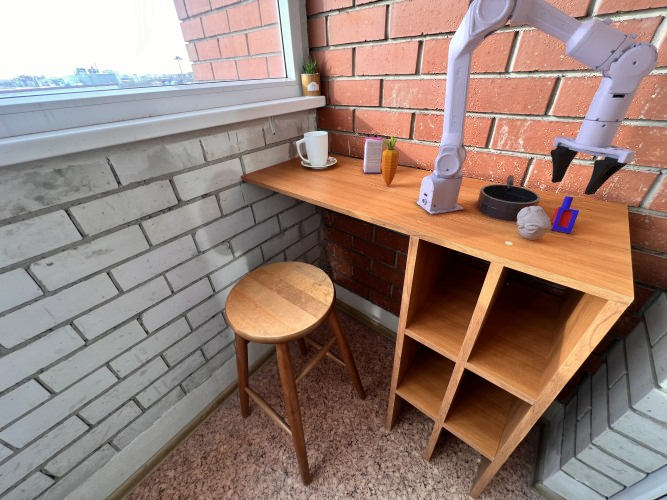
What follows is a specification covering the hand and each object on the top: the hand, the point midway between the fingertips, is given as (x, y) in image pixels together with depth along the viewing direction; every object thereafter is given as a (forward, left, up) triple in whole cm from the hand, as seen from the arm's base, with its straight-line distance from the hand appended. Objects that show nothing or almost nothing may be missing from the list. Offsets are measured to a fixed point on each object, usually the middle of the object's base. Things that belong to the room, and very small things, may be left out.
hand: (571, 187), depth 62 cm
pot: (-5, +10, -9) cm, 15 cm away
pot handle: (+3, +18, -6) cm, 20 cm away
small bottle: (0, -1, -9) cm, 9 cm away
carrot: (-26, +36, -9) cm, 46 cm away
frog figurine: (-11, -3, -9) cm, 15 cm away
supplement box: (-25, +52, -9) cm, 59 cm away
